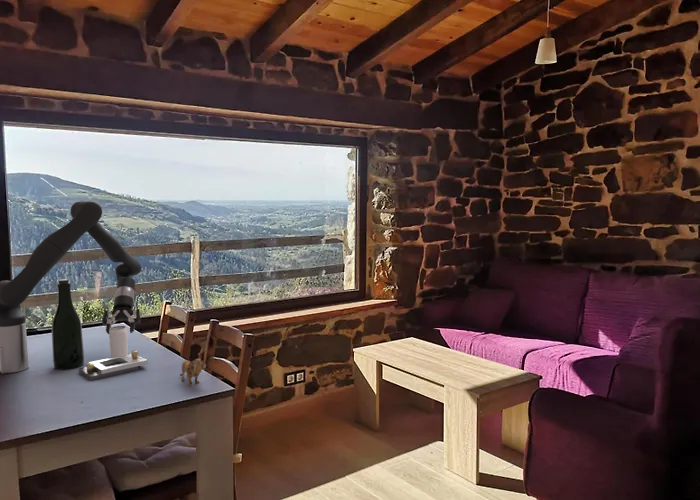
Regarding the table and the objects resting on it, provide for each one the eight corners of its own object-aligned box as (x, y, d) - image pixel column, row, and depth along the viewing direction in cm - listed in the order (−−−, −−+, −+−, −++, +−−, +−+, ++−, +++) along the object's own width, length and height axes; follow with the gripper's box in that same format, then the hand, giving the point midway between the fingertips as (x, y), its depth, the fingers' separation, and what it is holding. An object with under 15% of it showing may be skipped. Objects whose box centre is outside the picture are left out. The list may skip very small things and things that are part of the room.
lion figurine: (208, 384, 183) (207, 358, 182) (194, 388, 179) (193, 361, 178) (186, 375, 193) (185, 350, 192) (172, 378, 189) (171, 353, 189)
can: (131, 354, 220) (129, 325, 219) (123, 359, 214) (121, 329, 213) (116, 354, 221) (114, 325, 220) (107, 359, 214) (105, 329, 213)
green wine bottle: (71, 370, 200) (66, 281, 197) (46, 369, 202) (41, 281, 200) (90, 362, 211) (85, 277, 208) (66, 361, 213) (61, 277, 210)
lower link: (91, 380, 189) (90, 369, 188) (79, 372, 198) (78, 361, 198) (138, 370, 200) (137, 359, 200) (124, 362, 209) (124, 352, 209)
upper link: (101, 374, 191) (100, 362, 191) (88, 366, 200) (88, 355, 200) (147, 363, 202) (147, 353, 202) (133, 357, 212) (133, 346, 211)
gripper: (104, 295, 226) (98, 328, 215) (140, 293, 228) (137, 326, 218) (108, 305, 231) (103, 338, 221) (143, 303, 234) (140, 336, 224)
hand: (119, 332), depth 220 cm, fingers open, 8 cm apart
